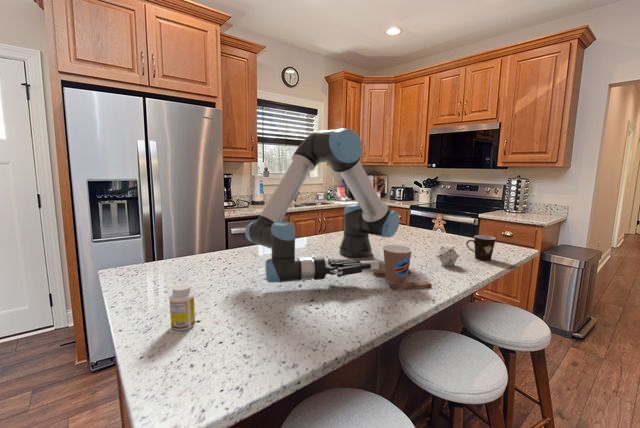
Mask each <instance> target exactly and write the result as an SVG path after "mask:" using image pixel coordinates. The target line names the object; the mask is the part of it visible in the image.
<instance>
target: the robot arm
mask: <svg viewBox="0 0 640 428" xmlns="http://www.w3.org/2000/svg"><path fill="white" fill-rule="evenodd" d="M362 146H363V144H362V140H361V138H360V136H359V135H358V133H357V132H356V131H355V130H354V129H350V128H342V127H340V128H339V127H338V128H336V129H335V128H334V129H328V130H327V129H326V130H317V131H314V132H312V133H311V134H309V135H308V136H307V137H306V138H305V139H303V140H302V142H301V143H300V144H299V145H298V147H297V148H296V150H294V151H295V152H294V153H293V155H292V156H291V160H292V162H291V163H290V164H289V167H288V168H287V170H286V171H285V173H284V175H283V176H282V178H281V180H280V181H279V183H278V184H277V186H276V188H275V190H274V192H272V195H271V197H270V198H269V199H268V201H267V203H266V205H265V206H264V207H263V209H262V211H261V213H260V215H259V217H258V218H257V219H256V221H251V222H250V223H248V224H247V225H246V227H245V232H244V233H245V237H246V239H247V240H248V241H249V242H251V243H253V244H255V245H259V246H262V247H265V248H268V249H270V250H271V258H269V259H266V260H265V264H264V267H265V268H264V270H265V273H264V274H265V280H266V281H267V282H268V283H281V284H282V283H288V282H301V281H302V282H303V283H305V282H306V281H312V280H314V281H317V280H324V279H325V278H326V276H327V275H330V276H335V275H336V277H337V278H339V277H340V278H341V277H343V276H350V275H355V274H356V275H357V274H361V273H362V274H363V271H366V270H367V271H370V270H372V271H373V270H379V269H380V261H379V260H376V259H375V260H360V259H359V258H366V257H369V256H372V254H373V251H372V249H373V248H372V245H371V242H370V237H369V236H370V235H373V236H377V237H381V238H392V237H394V236H395V235H396V233H397V232H398V229H399V227H400V213H398V211H396V210H391V209H390V208H389V205H388V204H387V203H386V202H385V201H383V200H381V198H380V196H379V195H378V193H377V191H376V190H375V187H374V185H373V183H372V182H371V180H370V178H369V176H368V174H367V172H366V171H365V169H364V167H363V165H362V163H361V162H360V161H361V158H362V152H363V147H362ZM320 163H328V164H329V166H330V167H331V168H332V170H333V172H334V173H336V174H340V176H341V178H342V179H343V181H344V182H345V184H346V185H347V187H348V189H349V191H350V192H351V194H352V196H353V197H354V200H355V201H356V202H357V204H349V205H348V204H347V205H346V206H345V207H344V214H343V237H342V239H341V243H340V244H339V245H340V246H339V254H341V255H342V256H346V257H350V258H356V259H357V260H356V259H346V258H345V259H344V258H343V259H337V258H336V259H335V258H328V259H327V261H326V260H325V257H323V256H313V257H310V256H308V257H307V256H306V257H296V228H295V227H296V226H295V224H294V223H293V222H291V221H282V220H283V218H284V217H285V215H286V213H287V212H288V209H289V208H290V206H291V205H292V203H293V201H294V200H295V198H296V196H297V195H298V193H299V191H300V189H301V187H302V186H303V184H304V182H305V181H306V179H307V177H308V176H309V174H310V172H312V171H315V169H316V167H317V165H319V164H320Z"/></svg>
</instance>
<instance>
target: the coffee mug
mask: <svg viewBox="0 0 640 428" xmlns="http://www.w3.org/2000/svg"><path fill="white" fill-rule="evenodd" d="M473 237H474V239H469V240H467V241H466V244H465V245H466V248H468V249H469V250H470V251H471V252H473V253H474V259H475V260H478V261H481V262H482V261H483V262H490V261H492V256H493V252H494V248H495V244H496V239H497V238H496V237H494V236H491V235H483V234H482V235H481V234H480V235H479V234H478V235H474V236H473ZM470 242H472V243H473V244H474V249H472V248H471V247H469V243H470Z"/></svg>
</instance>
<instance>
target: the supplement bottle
mask: <svg viewBox="0 0 640 428" xmlns="http://www.w3.org/2000/svg"><path fill="white" fill-rule="evenodd" d="M171 293H172V294H171V295H170V296H169V310H170V311H169V312H170V327H171V329H173V330H174V331H178V332H179V331H186V330H190V329H191V328H192V327H194V326H195V324H196V317H195V315H196V314H195V313H196V311H195V295H194V293H193V292H191V286H190V285H189V284H178V285H175V286H173V287H172V292H171Z"/></svg>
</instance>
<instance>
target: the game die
mask: <svg viewBox="0 0 640 428" xmlns="http://www.w3.org/2000/svg"><path fill="white" fill-rule="evenodd" d="M435 257H436V258H437V257H438V259H439V260H440V262H441V263H442V264H441V267H443V266H444V265H445V266H453V267H454V268H455V267H456V265H455V264H456V261H457V260H458V258H460V257H461V255H459V254H458V253H457V252H456V250H455V246H452V247H443V245H441V249H440V250H439V253H438V255H435Z"/></svg>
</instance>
